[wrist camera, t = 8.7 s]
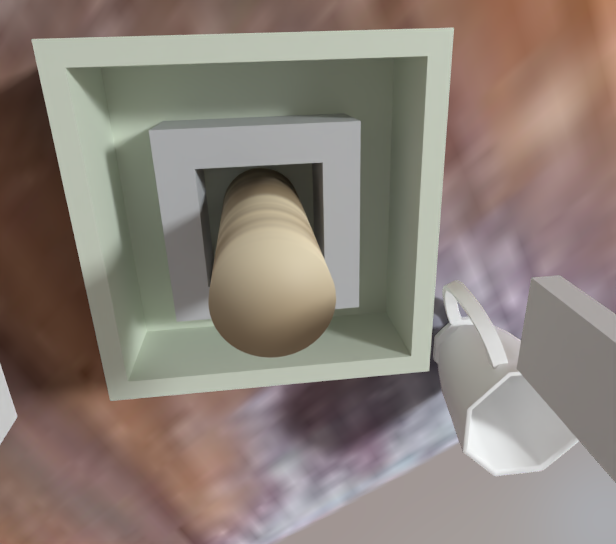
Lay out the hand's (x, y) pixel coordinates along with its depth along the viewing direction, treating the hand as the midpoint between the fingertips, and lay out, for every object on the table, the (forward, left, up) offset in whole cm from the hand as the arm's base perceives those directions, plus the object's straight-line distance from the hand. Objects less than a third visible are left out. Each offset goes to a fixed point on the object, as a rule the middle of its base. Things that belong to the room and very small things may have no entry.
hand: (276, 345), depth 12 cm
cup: (+9, +12, -17) cm, 23 cm away
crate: (0, 0, -16) cm, 16 cm away
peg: (0, 0, -15) cm, 15 cm away
